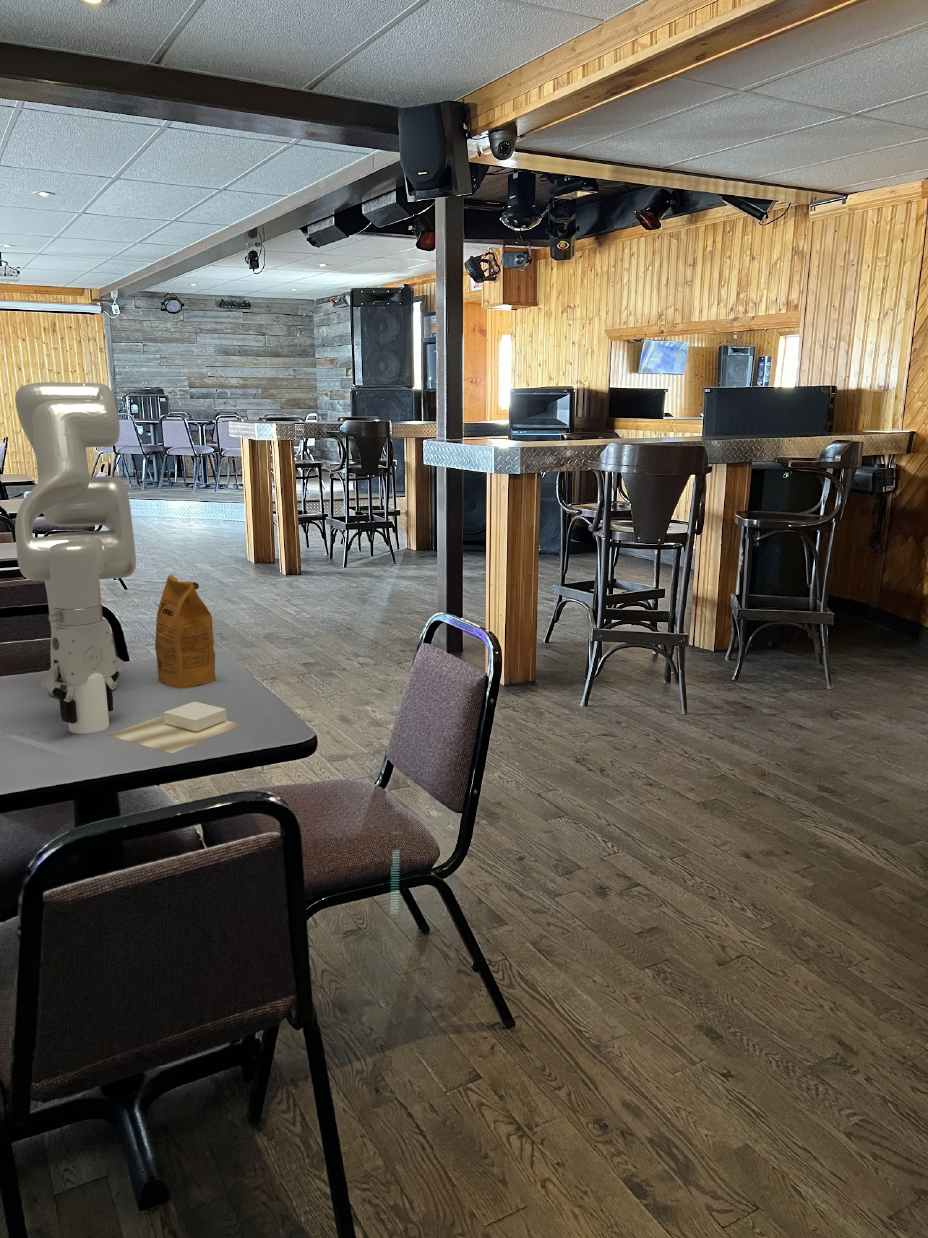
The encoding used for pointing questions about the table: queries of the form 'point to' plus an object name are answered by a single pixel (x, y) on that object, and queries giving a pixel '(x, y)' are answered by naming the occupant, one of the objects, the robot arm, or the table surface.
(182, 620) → the coffee package
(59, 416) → the robot arm
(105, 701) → the can
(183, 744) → the cloth
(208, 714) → the tile
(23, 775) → the table surface
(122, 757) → the table surface
